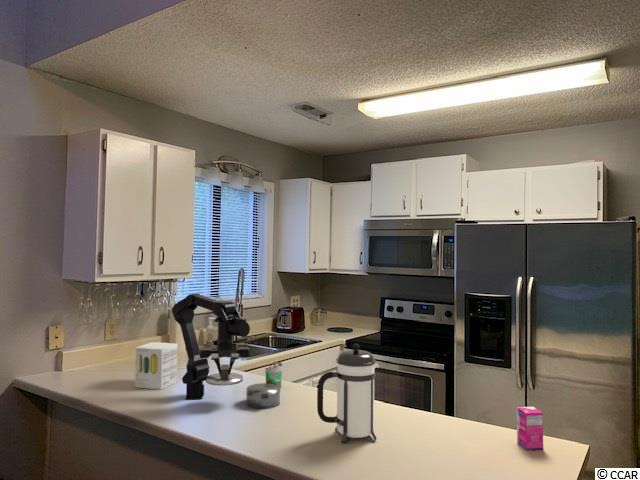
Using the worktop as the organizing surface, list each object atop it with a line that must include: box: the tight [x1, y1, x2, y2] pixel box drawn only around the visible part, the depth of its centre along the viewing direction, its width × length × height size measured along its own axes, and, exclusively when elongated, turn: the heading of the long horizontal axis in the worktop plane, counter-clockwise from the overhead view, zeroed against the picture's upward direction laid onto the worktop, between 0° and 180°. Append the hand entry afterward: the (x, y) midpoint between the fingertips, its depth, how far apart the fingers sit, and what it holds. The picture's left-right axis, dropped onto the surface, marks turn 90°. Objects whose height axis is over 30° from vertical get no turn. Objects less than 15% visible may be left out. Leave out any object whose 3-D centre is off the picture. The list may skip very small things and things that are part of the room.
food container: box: [265, 361, 284, 389], centre depth 206 cm, size 12×6×10 cm, turn 168°
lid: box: [205, 363, 244, 387], centre depth 183 cm, size 14×14×5 cm
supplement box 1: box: [134, 341, 179, 391], centre depth 210 cm, size 13×13×18 cm
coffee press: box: [316, 343, 380, 444], centre depth 153 cm, size 17×16×30 cm
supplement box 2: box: [516, 406, 544, 451], centre depth 147 cm, size 6×6×12 cm
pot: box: [245, 382, 281, 410], centre depth 185 cm, size 13×16×6 cm
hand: (224, 374), depth 183 cm, fingers closed on lid, 3 cm apart
